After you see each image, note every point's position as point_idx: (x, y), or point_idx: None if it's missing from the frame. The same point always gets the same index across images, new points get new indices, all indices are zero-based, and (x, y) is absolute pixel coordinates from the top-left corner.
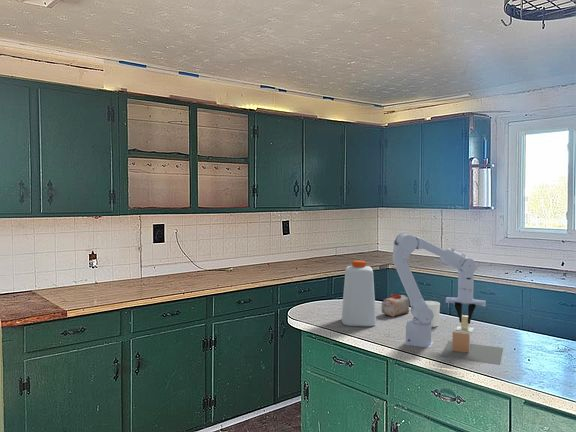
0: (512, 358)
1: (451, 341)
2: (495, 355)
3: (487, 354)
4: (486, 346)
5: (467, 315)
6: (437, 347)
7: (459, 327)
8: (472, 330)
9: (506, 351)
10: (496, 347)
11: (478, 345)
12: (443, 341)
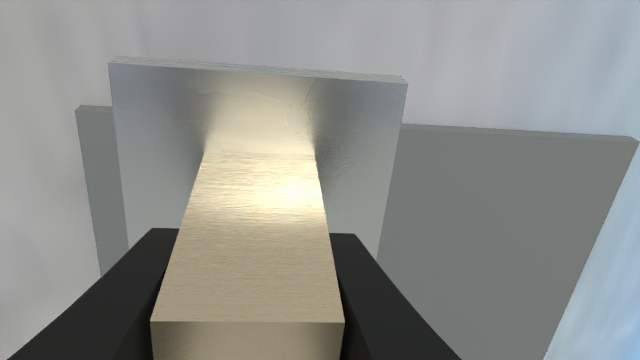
0: (617, 322)
1: (114, 124)
2: (508, 345)
3: (453, 346)
4: (483, 159)
5: (307, 324)
6: (39, 302)
7: (161, 170)
8: (374, 258)
9: (635, 188)
10: (575, 155)
11: (407, 157)
12: (18, 100)
